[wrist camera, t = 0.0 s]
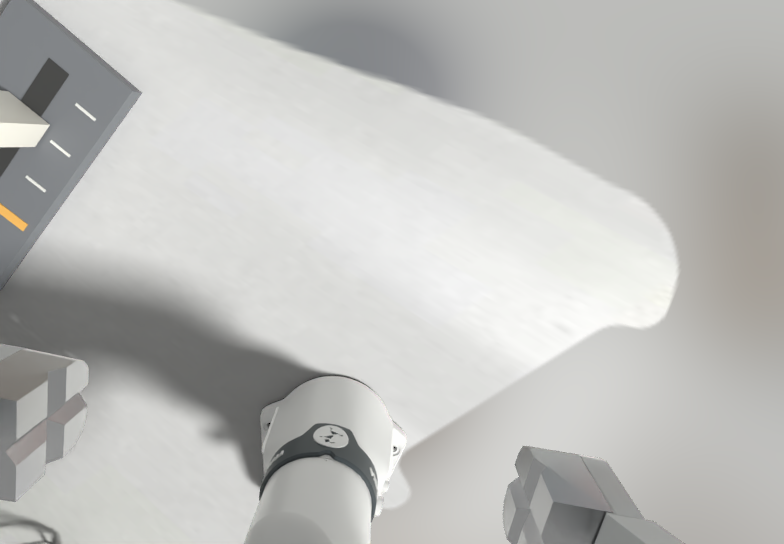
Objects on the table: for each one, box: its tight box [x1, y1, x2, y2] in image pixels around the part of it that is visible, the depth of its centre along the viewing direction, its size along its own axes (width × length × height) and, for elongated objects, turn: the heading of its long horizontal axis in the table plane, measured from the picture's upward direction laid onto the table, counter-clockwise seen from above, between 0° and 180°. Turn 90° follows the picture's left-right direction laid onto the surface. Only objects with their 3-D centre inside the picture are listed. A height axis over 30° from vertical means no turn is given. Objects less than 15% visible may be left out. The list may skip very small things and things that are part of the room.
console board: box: [0, 0, 142, 291], centre depth 54 cm, size 30×14×2 cm, turn 138°
